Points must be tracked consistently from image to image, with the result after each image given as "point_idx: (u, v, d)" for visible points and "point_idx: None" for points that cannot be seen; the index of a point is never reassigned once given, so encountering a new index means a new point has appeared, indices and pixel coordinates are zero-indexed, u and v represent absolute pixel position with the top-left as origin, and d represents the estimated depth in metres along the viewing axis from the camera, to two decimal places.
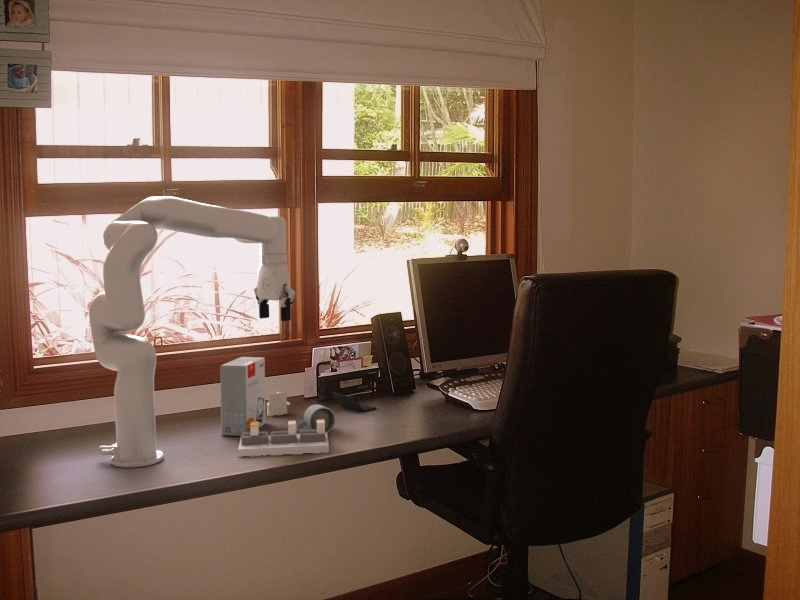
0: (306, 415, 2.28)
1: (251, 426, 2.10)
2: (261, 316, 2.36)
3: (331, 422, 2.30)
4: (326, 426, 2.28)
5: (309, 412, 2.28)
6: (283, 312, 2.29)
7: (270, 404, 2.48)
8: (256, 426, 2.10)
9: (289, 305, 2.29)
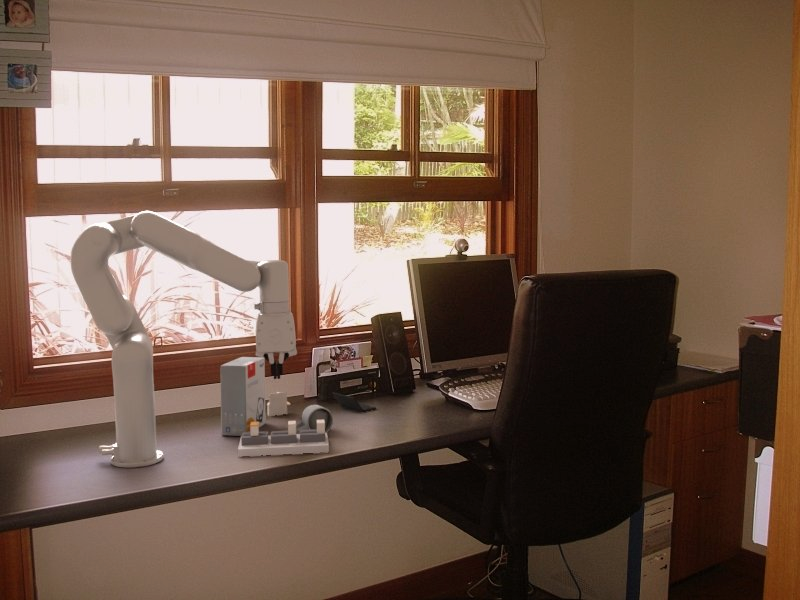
0: (304, 415, 2.28)
1: (251, 426, 2.10)
2: (276, 376, 2.10)
3: (329, 422, 2.29)
4: None
5: (307, 412, 2.27)
6: (279, 369, 2.10)
7: (270, 404, 2.47)
8: (256, 426, 2.10)
9: None
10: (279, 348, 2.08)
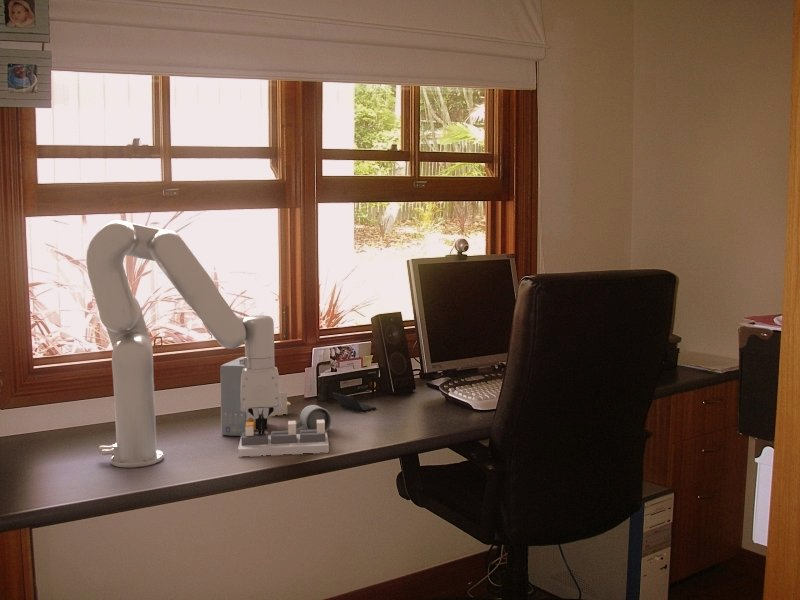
0: (302, 416, 2.28)
1: (246, 426, 2.10)
2: (260, 431, 2.11)
3: (327, 422, 2.29)
4: None
5: (305, 412, 2.27)
6: (264, 424, 2.11)
7: None
8: (251, 426, 2.10)
9: None
10: (264, 403, 2.09)
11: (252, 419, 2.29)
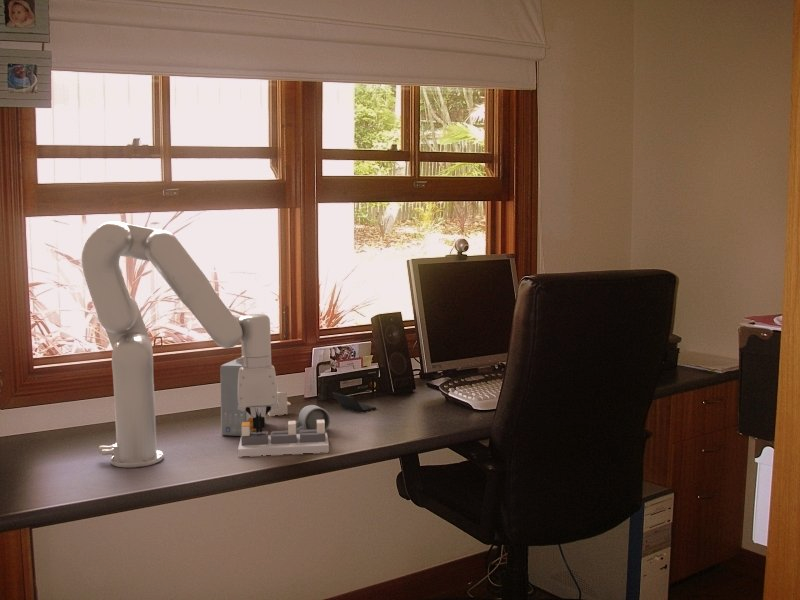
0: (301, 416, 2.28)
1: (242, 426, 2.10)
2: (258, 430, 2.11)
3: (326, 423, 2.29)
4: None
5: (304, 412, 2.27)
6: (262, 422, 2.11)
7: None
8: (247, 426, 2.10)
9: None
10: (261, 402, 2.09)
11: (252, 419, 2.29)
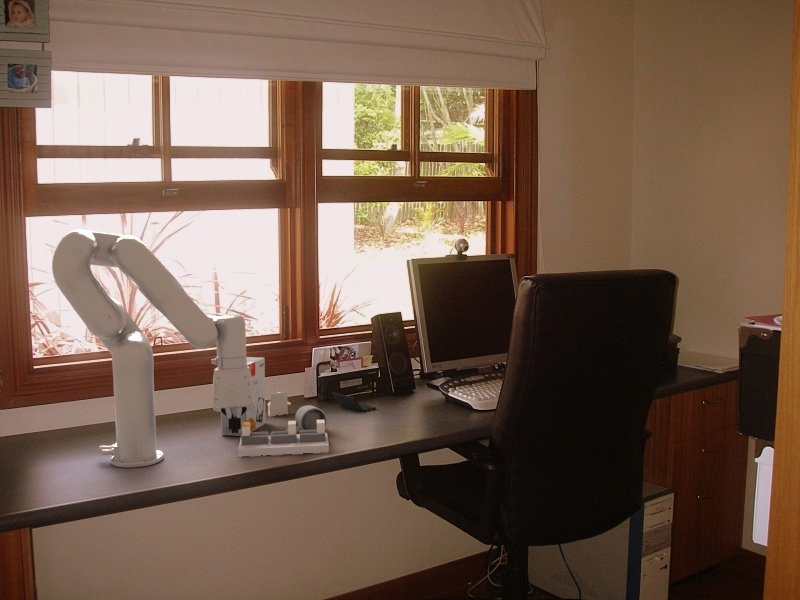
0: (297, 416, 2.28)
1: (242, 426, 2.10)
2: (234, 431, 2.10)
3: None
4: None
5: (300, 413, 2.27)
6: (237, 423, 2.10)
7: (271, 404, 2.47)
8: (247, 426, 2.10)
9: None
10: (236, 403, 2.08)
11: (252, 419, 2.29)
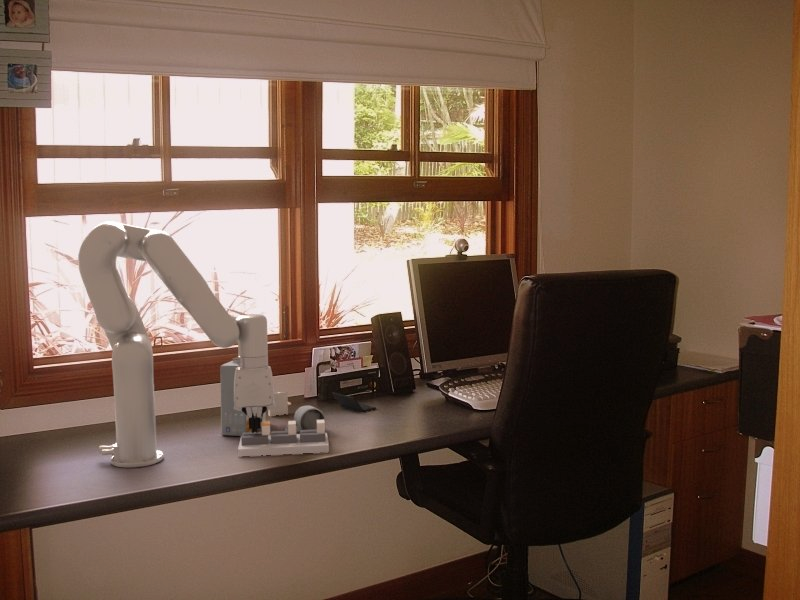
0: (296, 416, 2.28)
1: (262, 426, 2.10)
2: (254, 430, 2.11)
3: None
4: (316, 427, 2.27)
5: (299, 413, 2.27)
6: (257, 423, 2.11)
7: None
8: (267, 426, 2.11)
9: None
10: (257, 402, 2.09)
11: None
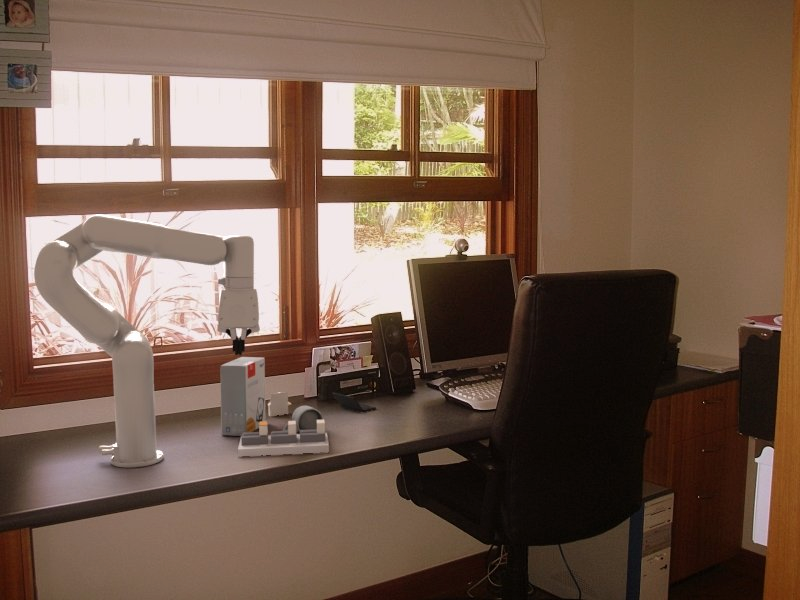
0: (294, 416, 2.27)
1: (260, 426, 2.10)
2: (237, 352, 2.09)
3: None
4: (314, 427, 2.27)
5: (297, 413, 2.26)
6: (241, 345, 2.09)
7: (271, 404, 2.47)
8: (265, 426, 2.11)
9: None
10: (241, 324, 2.07)
11: (252, 419, 2.29)
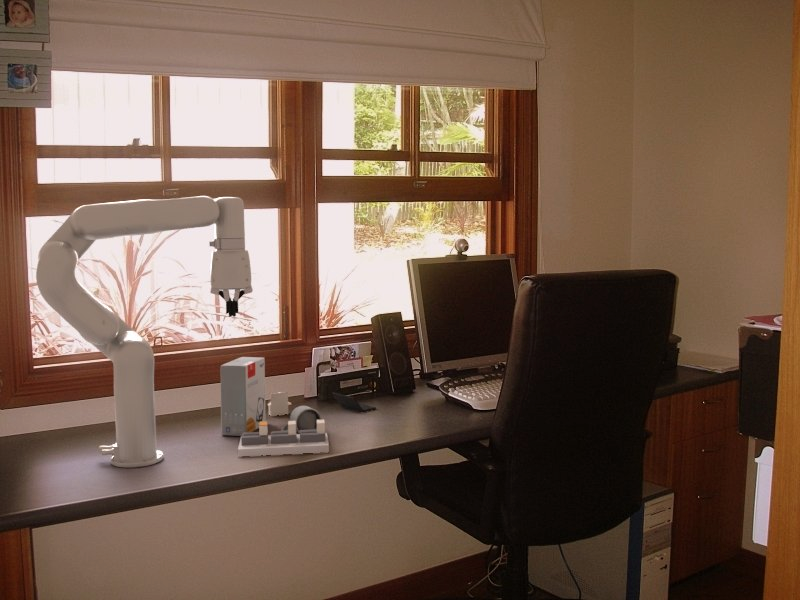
0: (293, 417, 2.27)
1: (260, 426, 2.10)
2: (231, 314, 2.10)
3: None
4: (312, 427, 2.27)
5: (295, 413, 2.26)
6: (235, 306, 2.10)
7: (272, 404, 2.47)
8: (265, 426, 2.11)
9: None
10: (234, 285, 2.08)
11: (252, 419, 2.29)
